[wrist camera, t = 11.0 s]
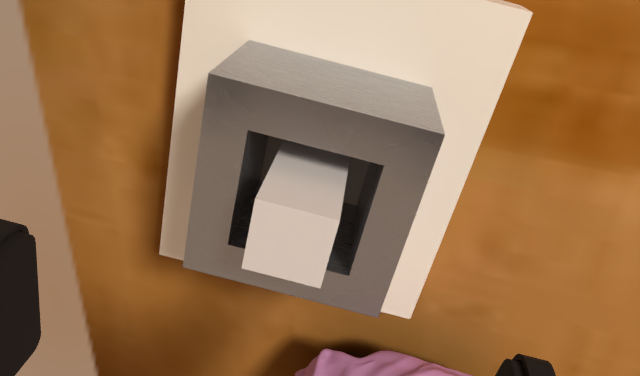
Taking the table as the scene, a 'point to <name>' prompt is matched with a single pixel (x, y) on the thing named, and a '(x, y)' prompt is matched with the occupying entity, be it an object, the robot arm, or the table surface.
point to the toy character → (373, 365)
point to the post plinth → (369, 45)
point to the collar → (320, 132)
